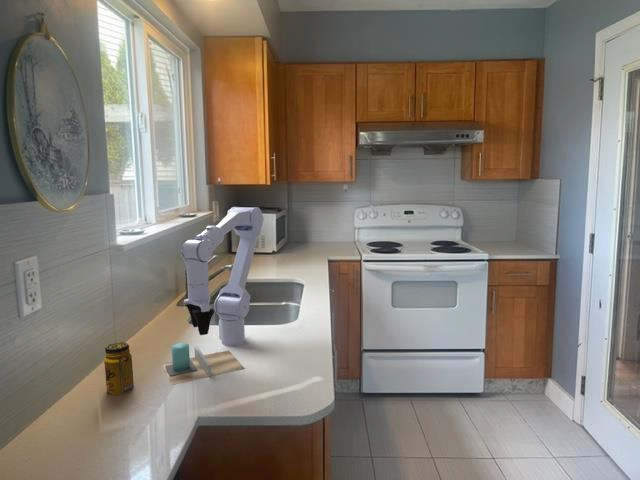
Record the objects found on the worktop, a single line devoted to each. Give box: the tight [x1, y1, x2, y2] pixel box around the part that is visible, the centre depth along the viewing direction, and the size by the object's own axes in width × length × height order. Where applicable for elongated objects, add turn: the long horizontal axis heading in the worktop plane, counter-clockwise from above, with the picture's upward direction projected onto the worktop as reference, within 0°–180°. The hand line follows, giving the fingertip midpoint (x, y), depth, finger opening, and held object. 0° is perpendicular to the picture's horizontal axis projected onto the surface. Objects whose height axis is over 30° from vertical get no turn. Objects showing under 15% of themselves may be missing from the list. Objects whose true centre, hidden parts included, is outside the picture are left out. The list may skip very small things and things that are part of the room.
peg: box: [171, 342, 191, 371], centre depth 119 cm, size 4×4×6 cm
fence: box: [194, 346, 212, 378], centre depth 121 cm, size 15×1×3 cm, turn 28°
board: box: [161, 349, 246, 386], centre depth 121 cm, size 15×19×1 cm
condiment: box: [103, 341, 135, 396], centre depth 108 cm, size 7×8×12 cm
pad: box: [165, 361, 197, 377], centre depth 119 cm, size 7×7×1 cm
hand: (200, 330), depth 124 cm, fingers open, 7 cm apart
